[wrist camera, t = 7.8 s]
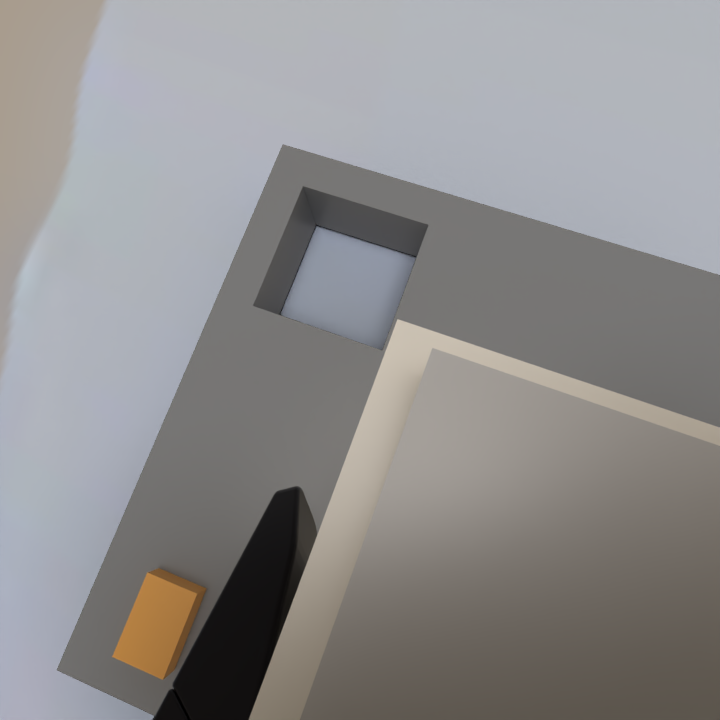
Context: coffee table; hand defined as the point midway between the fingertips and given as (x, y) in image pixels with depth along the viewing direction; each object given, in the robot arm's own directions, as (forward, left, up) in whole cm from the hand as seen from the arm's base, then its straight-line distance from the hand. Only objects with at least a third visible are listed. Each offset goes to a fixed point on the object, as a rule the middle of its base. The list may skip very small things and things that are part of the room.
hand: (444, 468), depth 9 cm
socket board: (0, 0, -11) cm, 11 cm away
